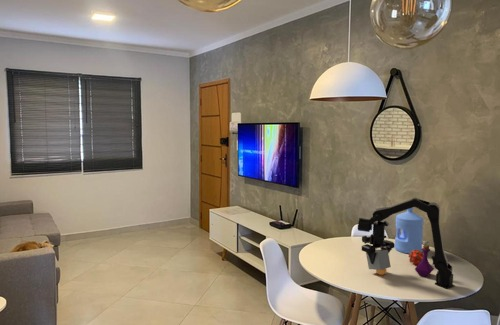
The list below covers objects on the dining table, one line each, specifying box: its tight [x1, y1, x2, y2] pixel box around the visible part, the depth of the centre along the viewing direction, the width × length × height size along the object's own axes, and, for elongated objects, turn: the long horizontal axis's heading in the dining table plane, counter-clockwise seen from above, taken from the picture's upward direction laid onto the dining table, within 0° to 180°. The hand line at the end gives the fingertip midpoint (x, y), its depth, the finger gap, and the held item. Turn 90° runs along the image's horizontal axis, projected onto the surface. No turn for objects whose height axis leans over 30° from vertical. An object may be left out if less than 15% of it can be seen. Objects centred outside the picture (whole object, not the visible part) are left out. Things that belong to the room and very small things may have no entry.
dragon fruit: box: [408, 250, 424, 267], centre depth 209 cm, size 8×8×12 cm
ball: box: [375, 268, 387, 276], centre depth 194 cm, size 5×5×5 cm
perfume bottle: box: [414, 240, 435, 277], centre depth 194 cm, size 8×8×18 cm
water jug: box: [394, 207, 424, 255], centre depth 231 cm, size 16×16×28 cm
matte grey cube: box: [365, 249, 391, 271], centre depth 196 cm, size 8×8×9 cm
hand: (377, 262), depth 196 cm, fingers closed on matte grey cube, 8 cm apart
